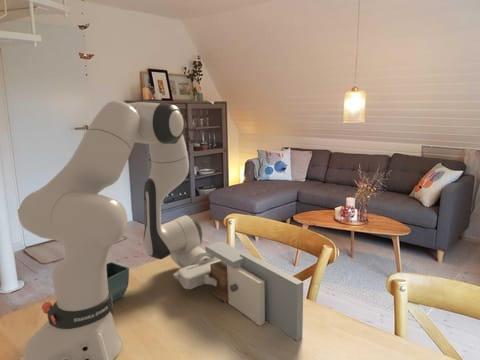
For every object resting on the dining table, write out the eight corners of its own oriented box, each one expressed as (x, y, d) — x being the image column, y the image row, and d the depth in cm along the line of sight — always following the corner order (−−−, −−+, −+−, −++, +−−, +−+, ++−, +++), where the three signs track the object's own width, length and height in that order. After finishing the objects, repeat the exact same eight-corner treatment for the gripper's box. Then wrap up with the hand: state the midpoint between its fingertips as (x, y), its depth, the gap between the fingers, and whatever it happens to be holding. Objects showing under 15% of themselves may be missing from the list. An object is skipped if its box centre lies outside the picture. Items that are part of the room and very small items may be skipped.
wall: (285, 347, 88) (285, 290, 84) (207, 290, 114) (204, 244, 111) (302, 337, 91) (303, 281, 88) (223, 284, 118) (221, 239, 114)
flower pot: (89, 300, 110) (85, 272, 108) (114, 287, 117) (111, 261, 115) (107, 309, 105) (104, 280, 103) (132, 295, 112) (129, 268, 110)
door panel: (255, 327, 95) (255, 285, 92) (224, 304, 106) (222, 265, 103) (264, 323, 97) (264, 281, 94) (232, 300, 107) (231, 262, 105)
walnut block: (225, 302, 106) (223, 273, 104) (211, 292, 111) (210, 264, 109) (236, 297, 108) (235, 268, 106) (222, 287, 114) (221, 260, 111)
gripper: (170, 264, 111) (193, 281, 101) (225, 246, 123) (252, 260, 113) (171, 283, 113) (194, 302, 102) (226, 263, 125) (252, 279, 114)
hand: (225, 280), depth 108 cm, fingers closed on walnut block, 4 cm apart
